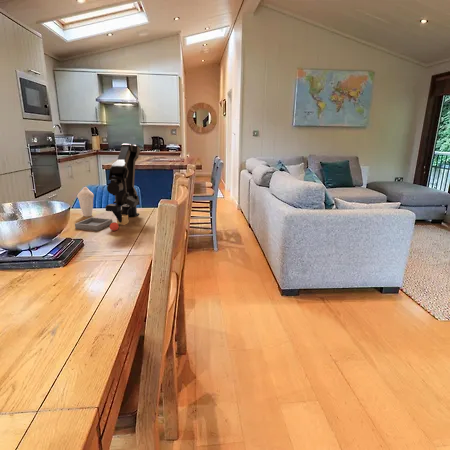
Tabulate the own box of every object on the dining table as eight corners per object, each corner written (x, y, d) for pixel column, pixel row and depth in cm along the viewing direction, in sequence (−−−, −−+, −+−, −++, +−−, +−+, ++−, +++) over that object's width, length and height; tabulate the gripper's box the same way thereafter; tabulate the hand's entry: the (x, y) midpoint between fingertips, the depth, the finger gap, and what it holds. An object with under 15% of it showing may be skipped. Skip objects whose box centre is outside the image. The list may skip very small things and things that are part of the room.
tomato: (113, 229, 148) (112, 220, 147) (120, 229, 147) (120, 221, 146) (108, 231, 144) (107, 223, 143) (115, 232, 143) (115, 223, 142)
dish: (91, 222, 158) (91, 217, 158) (112, 224, 156) (112, 219, 155) (75, 228, 147) (74, 223, 146) (97, 231, 144) (96, 225, 144)
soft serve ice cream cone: (91, 217, 166) (88, 188, 161) (76, 217, 166) (72, 187, 161) (98, 213, 174) (95, 185, 169) (83, 213, 174) (80, 185, 169)
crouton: (121, 221, 160) (121, 214, 159) (128, 222, 159) (128, 215, 158) (117, 224, 156) (116, 216, 155) (124, 224, 155) (123, 217, 154)
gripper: (124, 195, 142) (127, 227, 147) (144, 188, 159) (146, 218, 164) (103, 193, 145) (106, 225, 149) (125, 187, 162) (127, 216, 166)
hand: (122, 221), depth 157 cm, fingers closed on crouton, 4 cm apart
